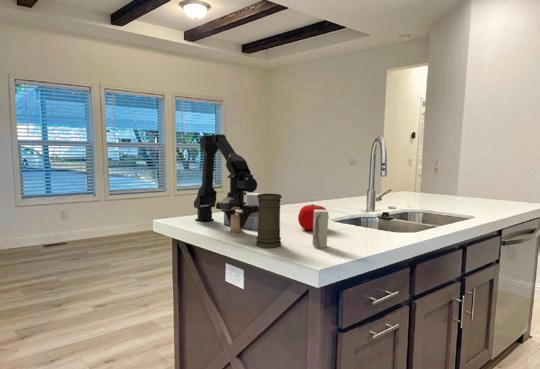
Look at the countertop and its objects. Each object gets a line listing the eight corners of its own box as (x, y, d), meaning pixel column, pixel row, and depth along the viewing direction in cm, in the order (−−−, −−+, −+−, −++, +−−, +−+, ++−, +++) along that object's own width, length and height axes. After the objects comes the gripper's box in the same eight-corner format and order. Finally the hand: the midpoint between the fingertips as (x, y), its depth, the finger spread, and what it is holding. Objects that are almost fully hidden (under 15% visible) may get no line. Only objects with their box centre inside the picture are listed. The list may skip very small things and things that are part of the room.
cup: (260, 220, 181) (261, 195, 180) (244, 219, 182) (244, 194, 181) (264, 217, 189) (264, 193, 187) (248, 216, 190) (248, 192, 189)
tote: (223, 224, 169) (223, 213, 168) (243, 220, 179) (243, 209, 179) (254, 230, 159) (254, 218, 158) (272, 225, 169) (272, 214, 169)
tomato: (292, 229, 161) (292, 204, 160) (310, 225, 170) (311, 201, 169) (314, 234, 153) (315, 207, 152) (333, 229, 162) (333, 204, 161)
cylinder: (227, 231, 155) (228, 214, 154) (236, 229, 159) (236, 213, 158) (237, 233, 152) (237, 216, 151) (245, 231, 156) (245, 214, 155)
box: (312, 244, 136) (313, 209, 135) (324, 244, 137) (325, 209, 135) (315, 248, 131) (316, 211, 130) (327, 248, 131) (328, 211, 130)
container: (263, 249, 128) (263, 196, 127) (251, 243, 136) (252, 193, 135) (285, 246, 133) (287, 195, 131) (273, 240, 141) (274, 192, 139)
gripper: (206, 189, 153) (206, 227, 154) (241, 193, 142) (241, 234, 143) (225, 187, 162) (225, 223, 163) (259, 191, 151) (259, 229, 152)
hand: (236, 227), depth 155 cm, fingers closed on cylinder, 5 cm apart
